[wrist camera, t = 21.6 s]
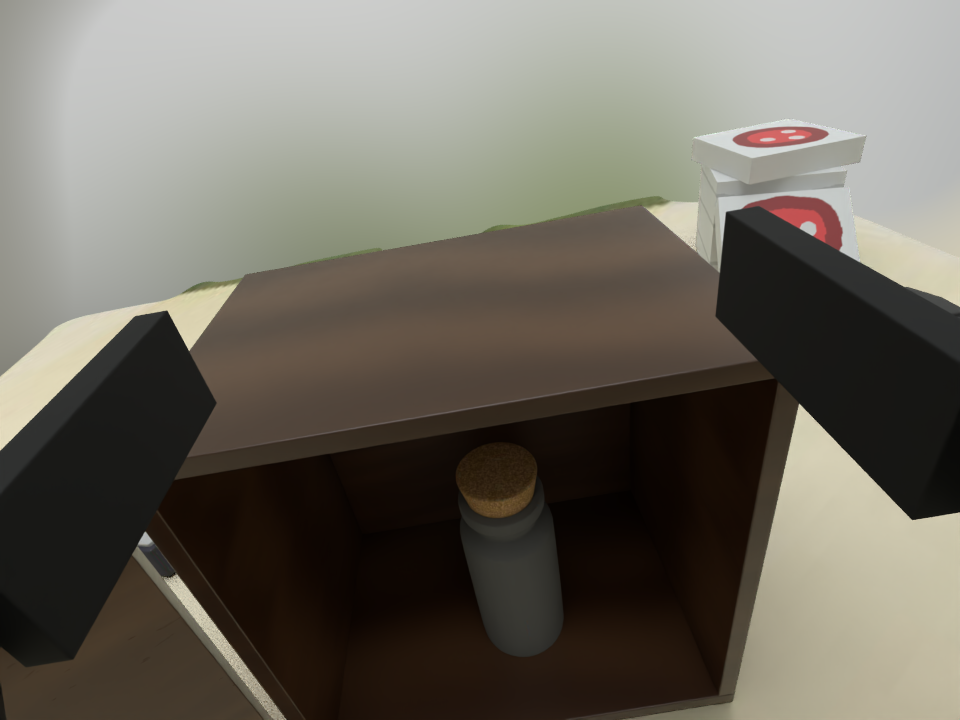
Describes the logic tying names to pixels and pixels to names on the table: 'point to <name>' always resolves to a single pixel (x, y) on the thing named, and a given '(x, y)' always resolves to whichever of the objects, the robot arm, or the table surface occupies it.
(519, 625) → the bottle
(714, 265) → the pizza boxes
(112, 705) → the cupboard door
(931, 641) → the table surface
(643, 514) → the cupboard
